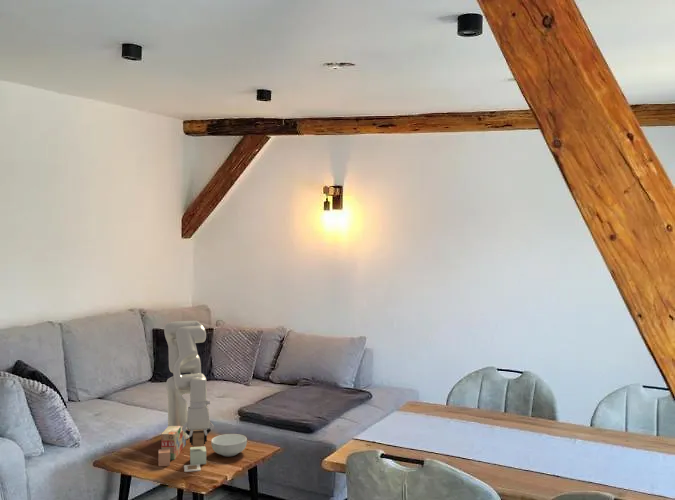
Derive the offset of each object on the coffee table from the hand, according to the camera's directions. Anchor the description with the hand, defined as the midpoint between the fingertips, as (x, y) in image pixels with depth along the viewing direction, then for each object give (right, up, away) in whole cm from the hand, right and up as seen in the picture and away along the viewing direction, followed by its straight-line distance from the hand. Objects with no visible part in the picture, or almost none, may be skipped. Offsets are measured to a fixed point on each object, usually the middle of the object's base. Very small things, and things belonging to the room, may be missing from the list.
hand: (198, 443), depth 302 cm
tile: (-1, -9, -8) cm, 12 cm away
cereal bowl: (+12, -9, +12) cm, 19 cm away
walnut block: (0, -1, 0) cm, 1 cm away
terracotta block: (-15, -9, -3) cm, 17 cm away
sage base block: (0, -9, 0) cm, 9 cm away
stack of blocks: (-14, -8, +14) cm, 21 cm away
